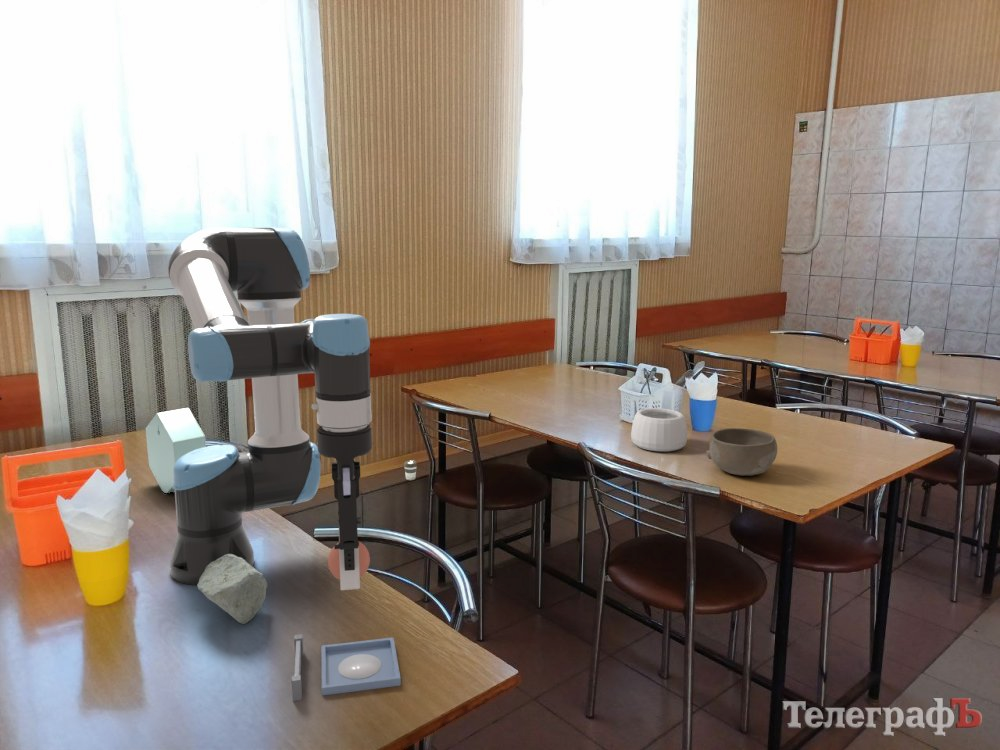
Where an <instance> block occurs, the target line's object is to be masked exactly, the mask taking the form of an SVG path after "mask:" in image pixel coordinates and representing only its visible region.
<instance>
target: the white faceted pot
mask: <svg viewBox="0 0 1000 750" xmlns="http://www.w3.org/2000/svg"><path fill="white" fill-rule="evenodd" d="M632 420H633V421H632V426H631V433H630V438H631V442H633V444H634V445H635V446H636V447H638V448H640V449H644V450H648V451H653V452H675V451H679V450H681V449H683V448H684V447H685V446H686V444H687V441H688V427H687V421H686V417H685V416H684V414H683V413H682V412H679V411H677V410H673V409H669V408H659V407H655V408H654V407H651V408H649V407H648V408H644V409H641V410H638V411H637V412H635V415H634V417H633V419H632Z"/></svg>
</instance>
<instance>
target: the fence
mask: <svg viewBox="0 0 1000 750" xmlns="http://www.w3.org/2000/svg"><path fill="white" fill-rule="evenodd" d="M293 641H294V643H293V644H294V658H295V659H294V674H293V675H292V676H291V692H292V693H291V694H292V702H296V701H297V702H298V701H302V699H303V696H302V695H303V694H302V693H303V691H302V689H303V688H302V675H301V672H302V671H301V669H302V658H304V638H303V634H302V633H301V634H294V637H293Z"/></svg>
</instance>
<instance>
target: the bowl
mask: <svg viewBox="0 0 1000 750" xmlns="http://www.w3.org/2000/svg"><path fill="white" fill-rule="evenodd" d="M777 455H778V443H777V441H776V438H775V436H774V435H773V434H771V433H769V432H766V431H762V430H757V429H753V428H752V429H751V428H737V427H731V428H729V427H728V428H727V427H726V428H720V429H717V430H715V431H713V432H712V433H711V435H710V438H709V449H706V456H707V458H708V459H709V460H712V462H713V464H714V465H715V466H716V467H717V468H718V469H720V470H722V471H723V472H726V473H728V474H732V475H735V476H744V477H745V476H747V477H748V476H749V477H751V476H755V475H761V474H763V473H765V472H767V471H768V469H769V468H770V467H771V466H772V465H773V463H774V462H775V460H776V458H777Z"/></svg>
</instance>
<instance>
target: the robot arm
mask: <svg viewBox="0 0 1000 750" xmlns="http://www.w3.org/2000/svg"><path fill="white" fill-rule="evenodd" d="M308 257H309V256H308V253H307V250H306V247H305V244H304V242H303V239H302V238H301V236H300V235H299V234H298V232H296V231H295V230H294V229H291V228H283V227H273V226H270V227H212V228H206V229H203V230H202V229H201V230H200V231H199V230H198V231H197V232H194V233H193V234H191V235H189V236H188V237H186V238H185V239H183V241H181V242H180V243H179V244H178V245H177V246H176V248H175V249H174V251H173V252H172V254H171V255H170V258H169V261H168V265H167V266H168V267H167V271H168V277H169V280H170V283H171V286H172V287H173V289H174V291H175V292H176V293H177V294H178V295H180V297H182V298H183V300H184V303H185V306H186V308H187V312H188V314H189V316H190V319H191V323H192V325H193V327H194V330H192V331H190V332H189V334H188V336H187V337H188V339H187V352H188V360H189V365H190V367H189V368H190V373H191V375H192V377H193V378H194V379H195V380H196V381H198V382H200V383H202V382H219V383H223V382H227V381H235V380H236V381H237V380H245V379H247V380H248V379H251V385H252V386H251V387H252V389H251V390H252V402H253V414H254V417H253V418H254V429H255V430H254V433H253V435H252V436H250V437H249V439H248V440H247V448H248V450H246V451H240V450H239V449H238V448H237V447H236V446H235V445H234V444H233V445H232V444H226V443H225V444H214V445H213V444H212V445H208V446H207V445H206V447H203V448H199V449H196V450H194V451H191V452H189V453H187V454H185V455H183V456H182V457H180V458H179V459H178V460H177V461H176V463H175V464H174V468H173V489H175V492H174V499H175V500H174V501H175V514H176V526H177V527H176V528H177V537H176V538H175V544H174V547H173V551H172V555H171V559H170V564H169V566H170V567H169V568H170V574H171V575H170V576H171V578H172V579H173V580H174V581H176V582H178V583H180V584H184V585H190V586H191V585H192V586H197V584H198V583H199V579H200V577H201V576H202V574H203V573H204V571H205V569H206V567H207V565H209V564H210V563H211V562H213V561H215V560H217V559H218V558H220V557H222V556H224V555H226V554H233V555H235V556H237V557H240V558H243V559H244V560H245V561H246V562H247V563H248V564H249V565H251V566H252V567H253V568H254V564H255V554H254V553H255V552H254V548H253V546H252V544H251V541H250V540H249V538H248V535H247V532H246V530H245V529H244V524H243V513H248V512H255V511H260V510H267V509H273V508H279V507H283V506H284V507H285V506H294V505H296V504H301V503H305V502H308V501H310V500H312V499H313V498H314V497H315V496H316V494H317V492H318V490H319V486H320V482H321V481H320V480H321V466H322V465H321V463H322V462H321V459H320V456H323V457H325V458H329V459H331V458H332V459H333V458H334V459H335V460H336V462H331V479H332V481H333V490H334V491H333V493H334V498H335V499H336V500H337V501H338V502H337V504H338V505H337V506H338V512H337V514H338V541H339V542H338V543H339V544H337V543H335V544H334V545H333V547H334V549H339V562H340V580H339V581H340V583H339V586H340V591H349V590H350V591H351V590H359V589H361V581H360V579H361V578H360V574H359V542H360V541H359V539H358V536H359V535H358V525H362V517H360V516H359V517H358V512H357V511H358V510H357V509H358V508H357V505H358V504H357V499H358V498H359V497H360V478H361V466H360V460H356V461H355V458H358V457H361V456H365V455H368V454H369V453H370V452H371V451H372V448H373V440H372V439H373V437H372V436H373V435H372V434H373V429H372V426H371V425H370V423H371V422H372V418H373V417H372V416H373V415H372V393H371V372H370V371H371V367H370V366H371V365H370V346H371V339H370V336H369V335H370V334H369V326H368V325H369V324H368V320H367V318H366V317H365V316H363V315H360V314H353V313H330V314H329V313H328V314H321V315H318V316H317V317H315V318H308V319H305V320H303V321H301V322H295V310H294V308H295V306H296V305H297V304H298V303H299V302H300V301H301V300H302V291H304V290H306V289H308V287H309V286H310V283H311V279H310V277H311V269H310V263H309V258H308ZM301 290H302V291H301ZM235 292H236V293H237V296H236V295H235ZM241 305H242V306H243V307H244V308H245V309H246V312H247V317H246V315H245V312H244V310H243V309H242V307H241ZM301 374H302V375H304V374H314V383H315V384H314V385H315V397H316V398H315V402H314V403H311V409H312V410H314V411H316V423H317V424H318V425H319V427H318V428H317V430H316V436H317V439H316V440H317V444H315V443H314V442H312V441H310V436H309V434H308V433H306V432H305V431H304V430H303V429H302V427H301V425H302V424H301V411H300V410H301V409H300V392H299V378H298V375H301ZM239 451H240V452H239Z"/></svg>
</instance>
